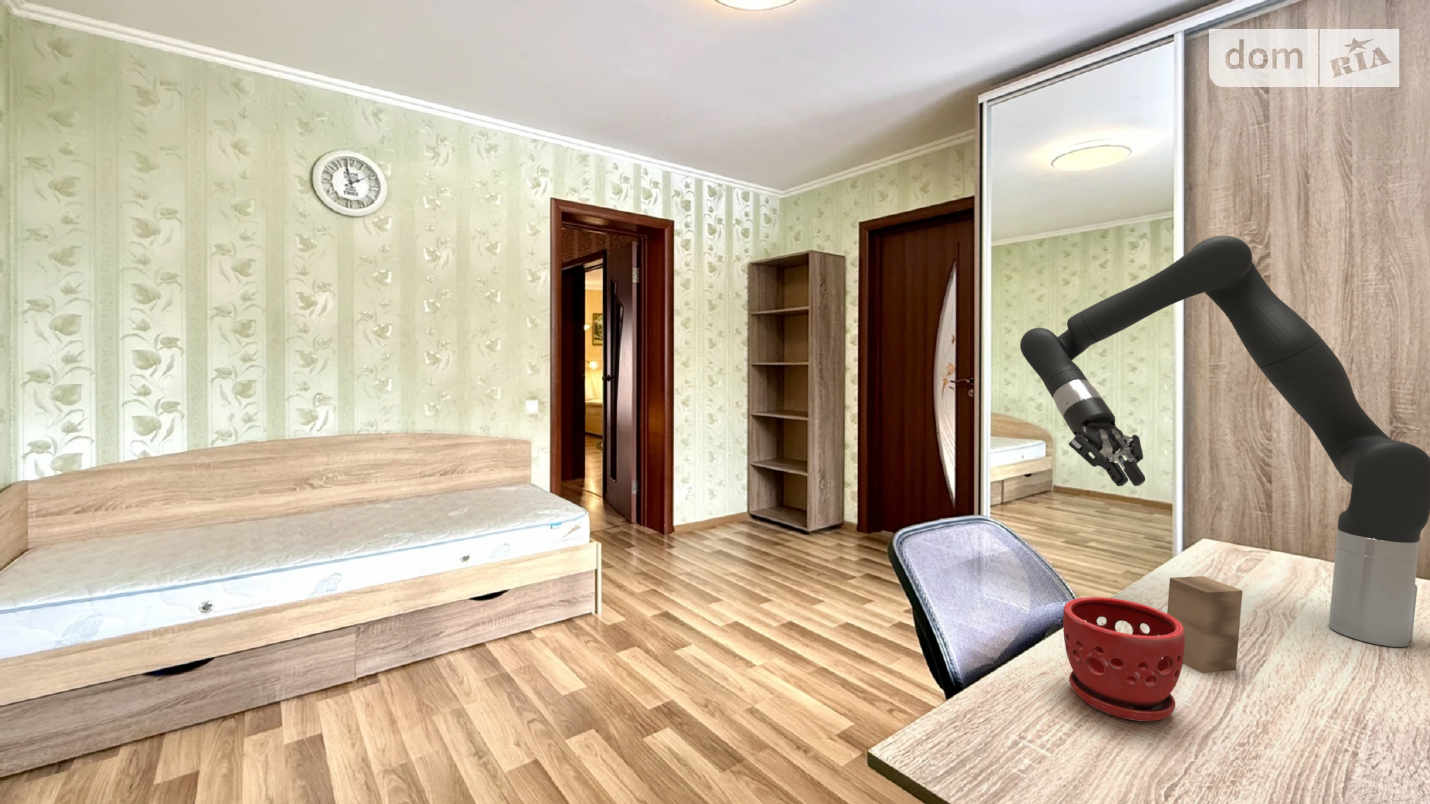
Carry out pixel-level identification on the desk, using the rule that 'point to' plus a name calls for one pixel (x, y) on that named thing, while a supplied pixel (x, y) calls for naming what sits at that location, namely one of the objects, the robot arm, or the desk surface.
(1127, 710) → the plant pot
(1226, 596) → the walnut block
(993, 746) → the desk surface
